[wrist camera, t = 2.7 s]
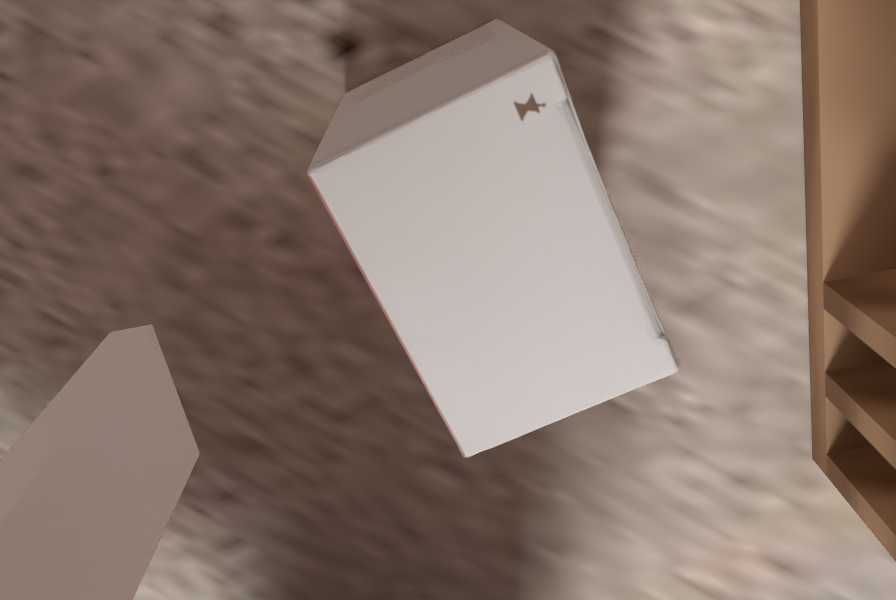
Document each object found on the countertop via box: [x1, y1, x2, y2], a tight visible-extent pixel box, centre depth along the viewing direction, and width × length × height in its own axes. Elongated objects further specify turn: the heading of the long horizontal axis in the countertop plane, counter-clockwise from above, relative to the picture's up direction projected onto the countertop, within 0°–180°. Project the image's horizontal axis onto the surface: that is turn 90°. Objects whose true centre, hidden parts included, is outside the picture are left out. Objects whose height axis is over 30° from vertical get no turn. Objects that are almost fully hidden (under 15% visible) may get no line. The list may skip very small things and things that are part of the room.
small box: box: [307, 19, 680, 458], centre depth 22 cm, size 8×6×10 cm
